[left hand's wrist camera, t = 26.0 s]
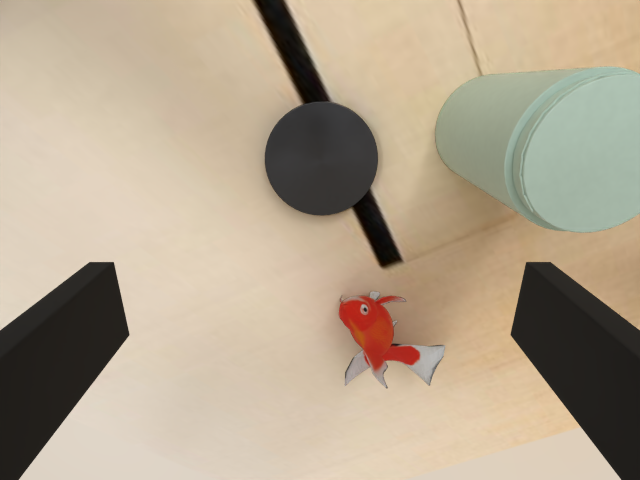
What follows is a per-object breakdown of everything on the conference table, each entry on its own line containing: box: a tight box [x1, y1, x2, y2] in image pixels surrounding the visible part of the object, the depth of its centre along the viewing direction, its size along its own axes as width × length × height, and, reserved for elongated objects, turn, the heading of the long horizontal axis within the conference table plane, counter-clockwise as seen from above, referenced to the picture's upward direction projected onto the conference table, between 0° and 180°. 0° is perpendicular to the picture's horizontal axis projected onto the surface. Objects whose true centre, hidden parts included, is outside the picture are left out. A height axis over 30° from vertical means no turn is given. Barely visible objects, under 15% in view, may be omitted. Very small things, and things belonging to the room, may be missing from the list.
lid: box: [265, 101, 378, 215], centre depth 37 cm, size 11×11×2 cm
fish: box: [339, 292, 445, 388], centre depth 41 cm, size 11×16×10 cm
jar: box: [435, 67, 640, 233], centre depth 29 cm, size 10×10×16 cm
